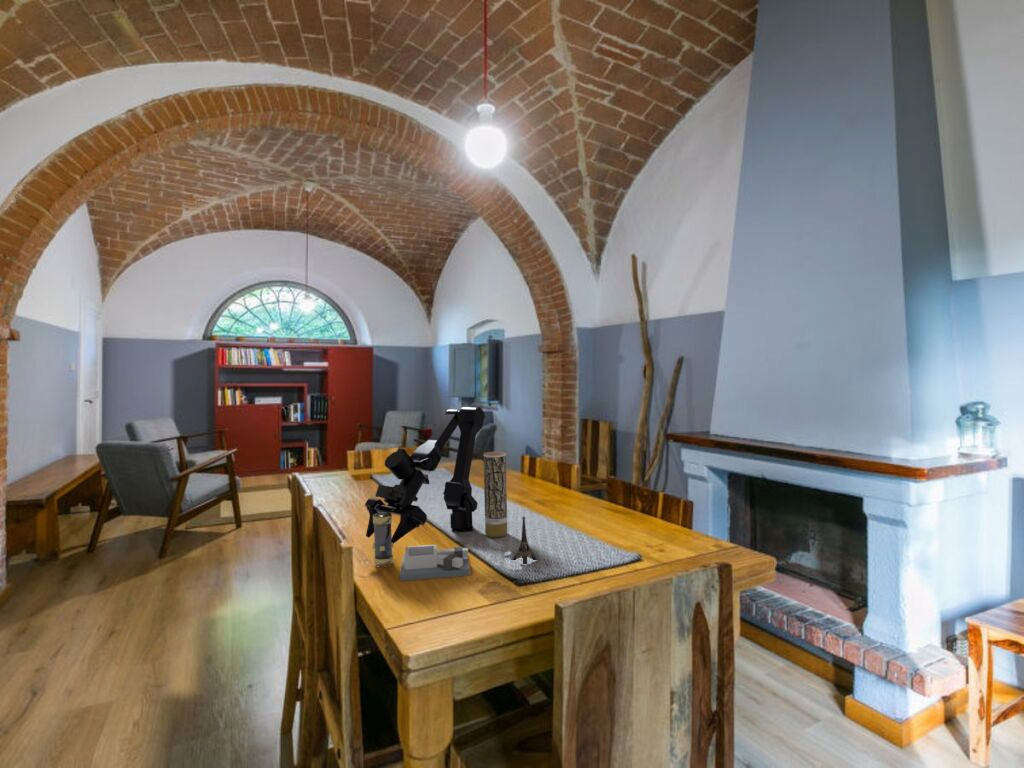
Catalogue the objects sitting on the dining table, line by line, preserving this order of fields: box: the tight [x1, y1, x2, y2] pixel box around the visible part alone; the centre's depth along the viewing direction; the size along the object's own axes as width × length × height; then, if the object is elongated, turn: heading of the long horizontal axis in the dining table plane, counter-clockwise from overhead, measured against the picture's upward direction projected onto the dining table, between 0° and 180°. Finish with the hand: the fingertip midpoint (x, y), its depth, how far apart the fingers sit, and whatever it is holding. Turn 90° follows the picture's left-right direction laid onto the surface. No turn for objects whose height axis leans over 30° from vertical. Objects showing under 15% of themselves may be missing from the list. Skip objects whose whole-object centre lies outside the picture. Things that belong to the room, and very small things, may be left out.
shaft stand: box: [399, 544, 471, 582], centre depth 131 cm, size 17×15×4 cm
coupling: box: [372, 513, 395, 568], centre depth 134 cm, size 5×5×13 cm
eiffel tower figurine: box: [511, 515, 539, 564], centre depth 135 cm, size 15×10×13 cm
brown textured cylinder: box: [483, 451, 508, 538], centre depth 156 cm, size 7×7×25 cm
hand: (379, 539), depth 133 cm, fingers open, 9 cm apart
